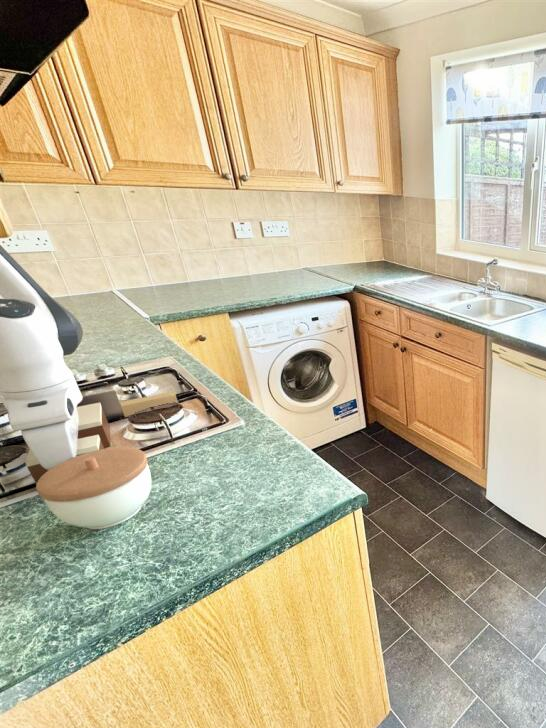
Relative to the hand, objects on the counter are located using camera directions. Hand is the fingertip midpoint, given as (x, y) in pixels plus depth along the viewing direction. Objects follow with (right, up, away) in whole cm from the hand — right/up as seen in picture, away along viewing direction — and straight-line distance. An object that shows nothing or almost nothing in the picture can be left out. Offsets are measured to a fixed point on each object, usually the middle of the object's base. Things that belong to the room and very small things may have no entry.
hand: (74, 463), depth 77 cm
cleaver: (-11, +7, +19) cm, 23 cm away
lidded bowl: (+14, -7, -7) cm, 17 cm away
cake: (-9, +3, +10) cm, 13 cm away
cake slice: (0, -2, +1) cm, 2 cm away
